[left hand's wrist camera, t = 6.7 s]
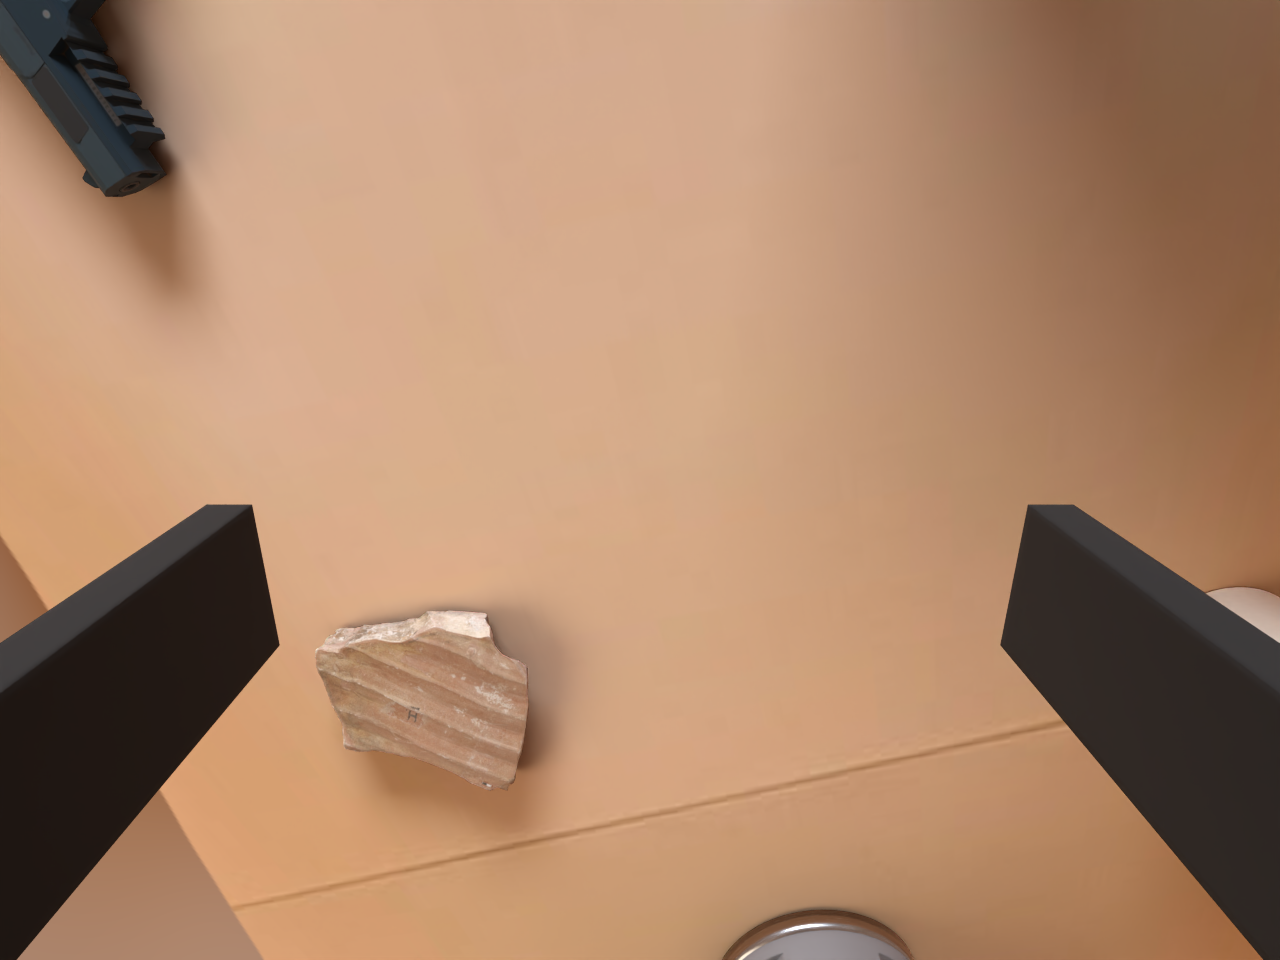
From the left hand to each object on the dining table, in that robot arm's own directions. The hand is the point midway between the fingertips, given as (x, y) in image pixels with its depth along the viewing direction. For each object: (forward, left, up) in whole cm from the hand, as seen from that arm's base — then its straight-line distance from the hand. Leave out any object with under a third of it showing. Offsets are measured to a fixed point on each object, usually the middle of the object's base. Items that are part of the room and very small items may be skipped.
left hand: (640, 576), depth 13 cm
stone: (-23, +13, -28) cm, 39 cm away
